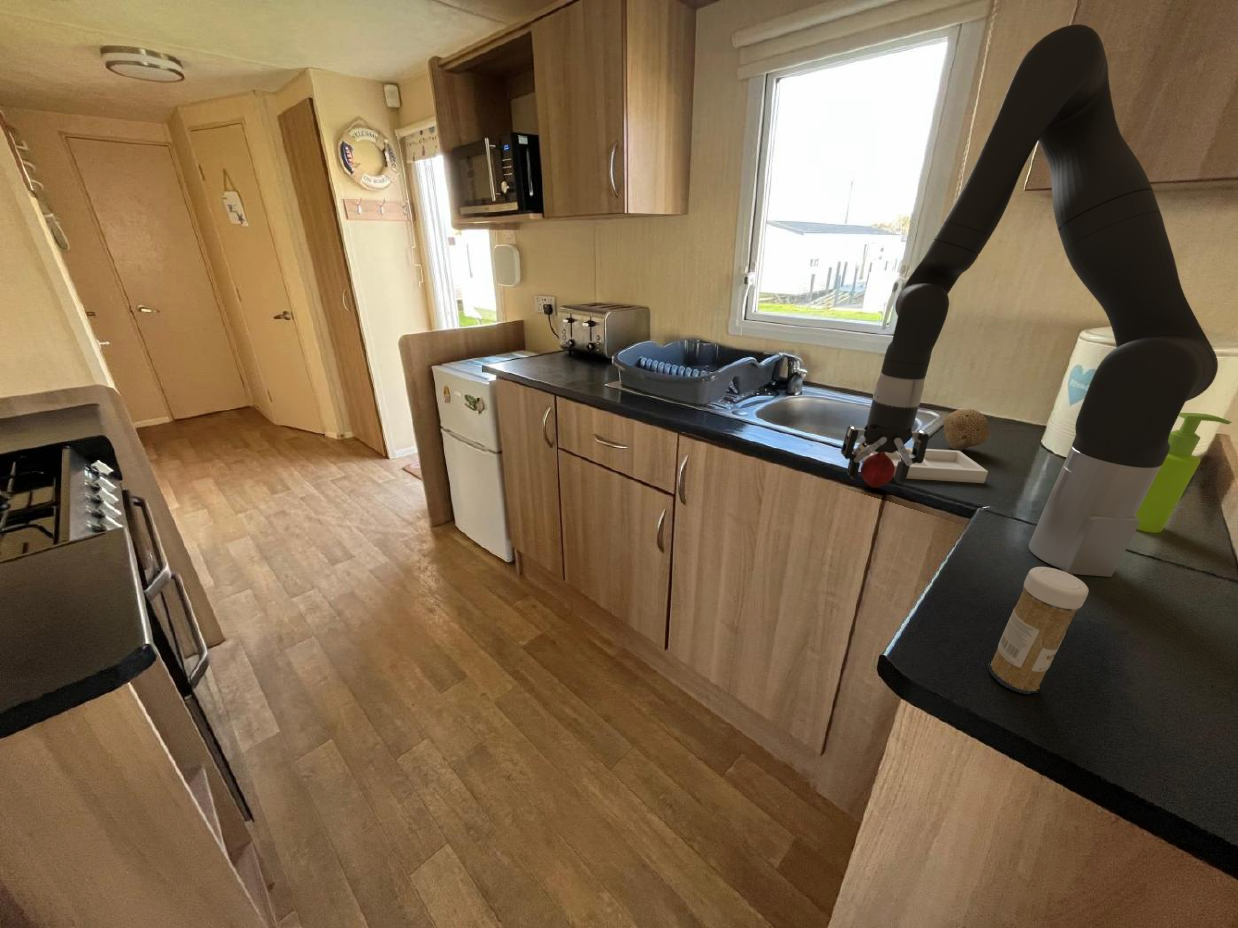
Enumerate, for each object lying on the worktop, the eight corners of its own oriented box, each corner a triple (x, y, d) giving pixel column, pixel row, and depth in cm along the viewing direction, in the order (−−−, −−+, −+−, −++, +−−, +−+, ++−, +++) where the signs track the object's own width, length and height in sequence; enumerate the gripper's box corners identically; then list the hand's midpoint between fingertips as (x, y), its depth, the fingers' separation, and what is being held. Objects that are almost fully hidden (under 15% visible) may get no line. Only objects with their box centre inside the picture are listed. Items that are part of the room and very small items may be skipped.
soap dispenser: (1178, 536, 81) (1244, 423, 72) (1125, 528, 83) (1184, 417, 75) (1156, 520, 86) (1215, 412, 77) (1108, 512, 88) (1160, 406, 80)
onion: (893, 495, 92) (904, 457, 89) (861, 492, 93) (870, 454, 90) (884, 482, 97) (894, 445, 94) (854, 479, 98) (862, 443, 95)
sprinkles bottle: (1045, 702, 50) (1100, 598, 45) (993, 689, 52) (1041, 587, 46) (1028, 669, 54) (1077, 570, 49) (980, 657, 56) (1022, 560, 50)
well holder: (983, 483, 98) (988, 471, 97) (875, 476, 100) (878, 464, 99) (955, 461, 108) (959, 450, 107) (858, 455, 110) (860, 445, 109)
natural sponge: (979, 447, 116) (993, 407, 112) (985, 460, 109) (1000, 418, 105) (935, 440, 120) (947, 401, 116) (938, 452, 113) (951, 411, 109)
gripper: (862, 403, 85) (843, 485, 92) (947, 407, 84) (922, 490, 91) (848, 392, 92) (831, 469, 99) (927, 395, 91) (905, 473, 97)
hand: (875, 479), depth 95 cm, fingers open, 8 cm apart
